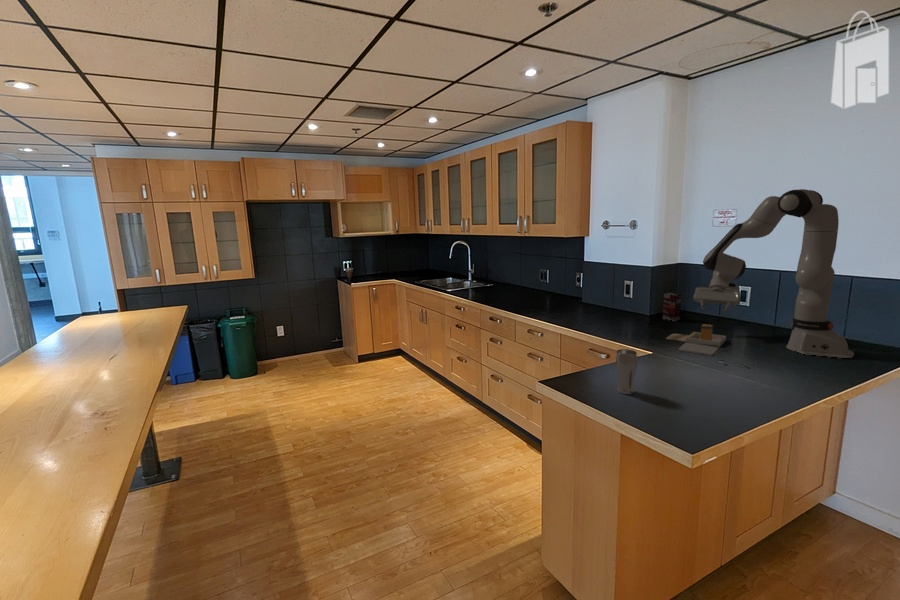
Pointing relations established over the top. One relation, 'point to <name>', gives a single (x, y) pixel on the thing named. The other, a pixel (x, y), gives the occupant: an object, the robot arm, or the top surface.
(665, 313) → the supplement box
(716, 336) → the case
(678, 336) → the pad
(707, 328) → the block
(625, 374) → the beer glass
